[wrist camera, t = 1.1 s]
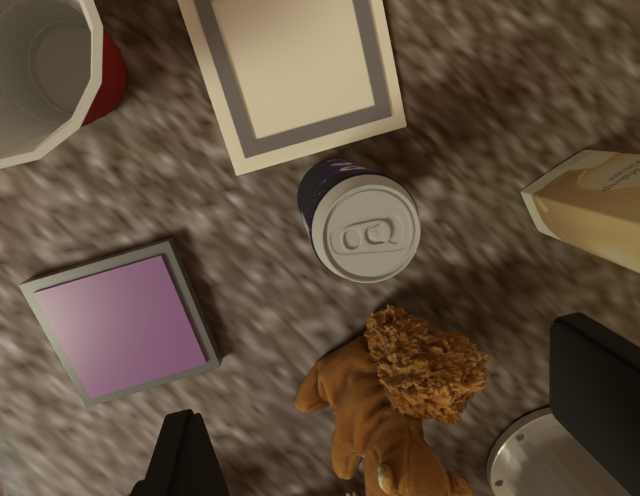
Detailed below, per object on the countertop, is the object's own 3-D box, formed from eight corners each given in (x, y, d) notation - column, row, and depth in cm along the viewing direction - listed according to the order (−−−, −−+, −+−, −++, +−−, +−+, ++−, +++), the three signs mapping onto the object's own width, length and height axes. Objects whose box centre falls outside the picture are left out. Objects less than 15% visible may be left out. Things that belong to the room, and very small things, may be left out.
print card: (365, -78, 25) (367, -82, 25) (405, 126, 29) (407, 126, 29) (169, -25, 25) (167, -28, 24) (236, 175, 29) (236, 176, 28)
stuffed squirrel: (288, 404, 35) (297, 556, 23) (363, 268, 32) (421, 354, 20) (383, 437, 37) (440, 592, 25) (460, 313, 35) (569, 416, 22)
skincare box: (583, 147, 32) (767, 157, 20) (602, 192, 33) (784, 225, 21) (514, 193, 32) (654, 228, 20) (535, 235, 33) (678, 292, 22)
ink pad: (172, 236, 30) (167, 242, 28) (222, 358, 33) (220, 368, 32) (28, 279, 29) (15, 286, 28) (93, 397, 33) (85, 410, 31)
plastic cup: (201, 113, 27) (152, 101, 16) (62, 181, 28) (-84, 217, 16) (110, -57, 24) (-33, -225, 13) (-46, 21, 24) (-326, -75, 13)
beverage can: (374, 223, 31) (435, 276, 20) (304, 239, 31) (324, 302, 20) (363, 151, 30) (422, 164, 18) (289, 166, 29) (301, 189, 18)
